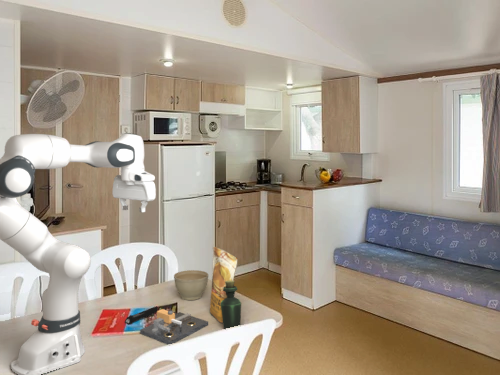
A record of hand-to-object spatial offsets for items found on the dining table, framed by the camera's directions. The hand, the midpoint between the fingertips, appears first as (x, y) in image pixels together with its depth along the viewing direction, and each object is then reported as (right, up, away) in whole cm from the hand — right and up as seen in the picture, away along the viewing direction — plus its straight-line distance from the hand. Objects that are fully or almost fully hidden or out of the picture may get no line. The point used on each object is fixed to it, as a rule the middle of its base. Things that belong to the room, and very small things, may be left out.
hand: (133, 211), depth 161 cm
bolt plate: (+16, -46, 0) cm, 49 cm away
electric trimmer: (0, -46, +11) cm, 47 cm away
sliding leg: (+14, -44, 0) cm, 47 cm away
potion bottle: (+38, -46, 0) cm, 60 cm away
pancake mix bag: (+33, -45, +12) cm, 57 cm away
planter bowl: (+18, -43, +35) cm, 58 cm away
